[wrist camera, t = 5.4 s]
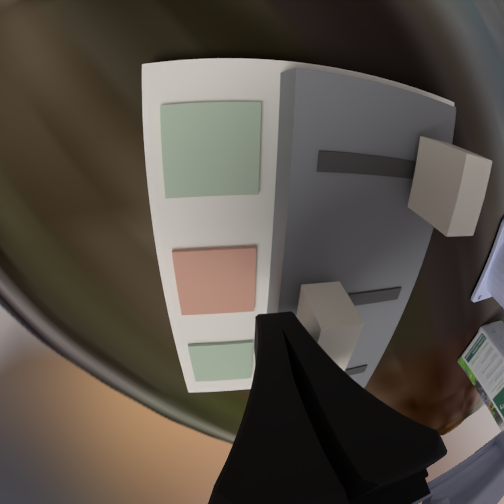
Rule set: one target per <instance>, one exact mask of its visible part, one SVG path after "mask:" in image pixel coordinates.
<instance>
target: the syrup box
mask: <svg viewBox="0 0 504 504" xmlns="http://www.w3.org/2000/svg"><path fill="white" fill-rule="evenodd" d="M458 363H459V364H460V366H461V367H462V368H463V370H464V371H465V373H466V374H467V376H468V377H469V379H470V380H471V382H472V383H473V385H474V386H475V388H476V389H477V391H478V392H479V394H480V396H481V397H482V399H483V401H484V402H485V404H486V406H487V407H488V409H489V410H490V412H491V414H492V415H493V417H494V419H495V421H496V422H497V424H498V426H499V428H500V430H501V432H502V431H503V430H504V323H503V321H501V320H500V321H496V322H492V323H489V324H487V325H484V326H481V327H480V328H479V330H478V333H477V334H476V336H475V337H474V339H473V340H472V341H471V343H470V344H469V346H468V347H467V348H466V350H465V351H464V353H463V354H462V355H461V356H460V358H459V359H458Z"/></svg>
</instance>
